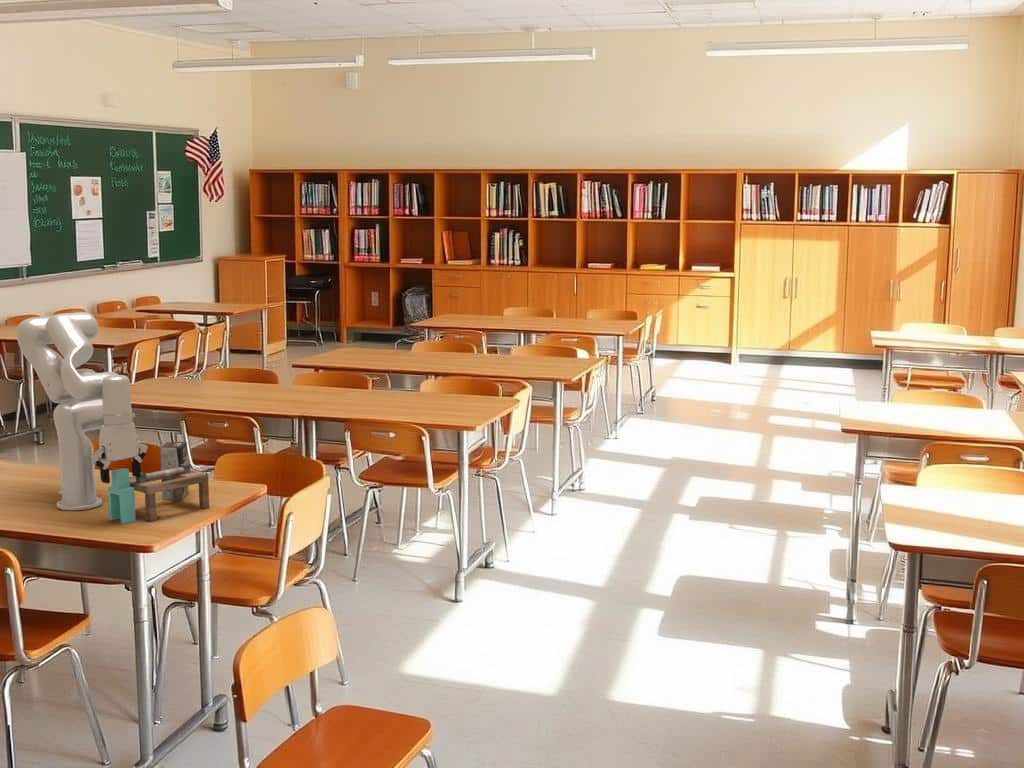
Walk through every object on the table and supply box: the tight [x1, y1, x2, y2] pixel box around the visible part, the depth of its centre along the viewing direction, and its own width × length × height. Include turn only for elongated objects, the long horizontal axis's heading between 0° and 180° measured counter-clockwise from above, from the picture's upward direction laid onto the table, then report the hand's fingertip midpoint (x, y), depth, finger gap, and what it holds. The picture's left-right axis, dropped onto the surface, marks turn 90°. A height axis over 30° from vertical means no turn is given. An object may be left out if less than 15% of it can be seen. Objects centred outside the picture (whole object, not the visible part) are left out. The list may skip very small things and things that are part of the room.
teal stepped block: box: [107, 467, 136, 525], centre depth 320 cm, size 7×4×15 cm, turn 51°
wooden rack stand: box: [129, 463, 210, 523], centre depth 331 cm, size 15×20×12 cm
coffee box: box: [159, 441, 190, 500], centre depth 348 cm, size 9×6×16 cm
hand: (121, 479), depth 319 cm, fingers open, 9 cm apart
